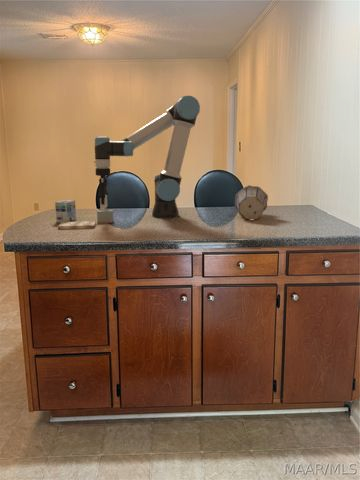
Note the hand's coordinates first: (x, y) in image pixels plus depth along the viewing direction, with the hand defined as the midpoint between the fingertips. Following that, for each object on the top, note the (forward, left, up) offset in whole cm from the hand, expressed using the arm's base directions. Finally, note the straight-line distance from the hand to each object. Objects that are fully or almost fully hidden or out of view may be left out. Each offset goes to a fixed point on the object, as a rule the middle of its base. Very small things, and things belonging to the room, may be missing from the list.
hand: (103, 208), depth 216 cm
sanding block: (0, 0, -7) cm, 7 cm away
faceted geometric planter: (-80, -4, -7) cm, 81 cm away
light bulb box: (+21, -6, -7) cm, 23 cm away
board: (+13, +12, -7) cm, 19 cm away
